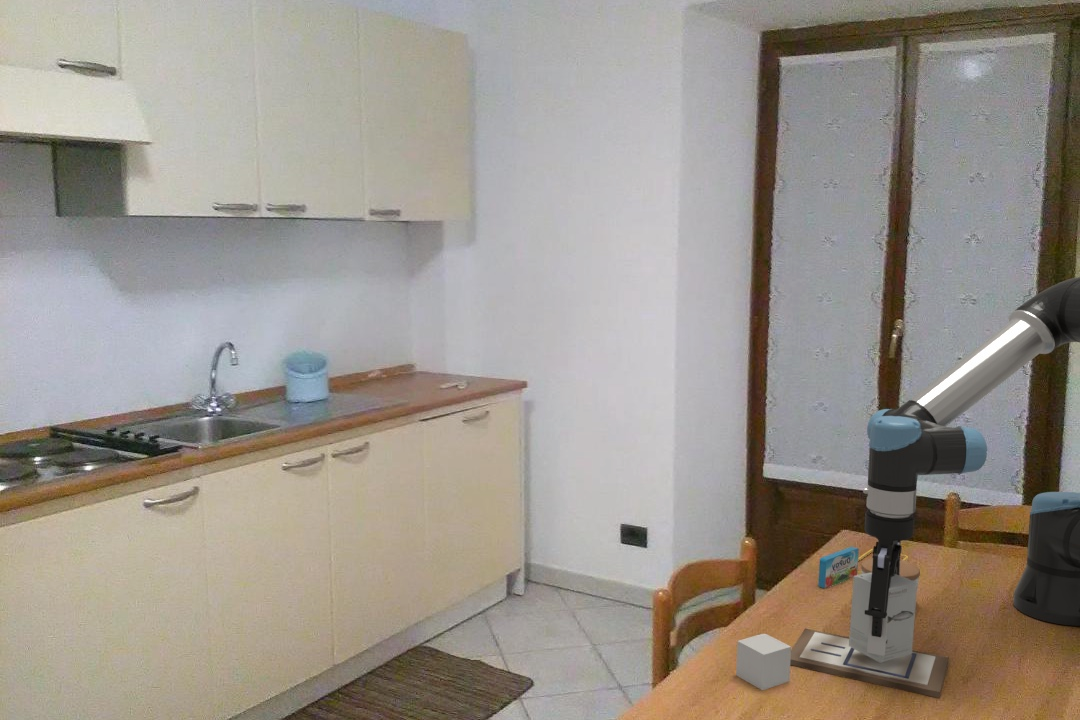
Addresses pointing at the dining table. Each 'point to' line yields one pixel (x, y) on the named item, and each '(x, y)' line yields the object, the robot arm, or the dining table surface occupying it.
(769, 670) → the gray cube
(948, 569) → the dining table surface
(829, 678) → the dining table surface
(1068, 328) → the robot arm
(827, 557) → the yogurt
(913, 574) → the lidded jar
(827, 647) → the brown framed board
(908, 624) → the supplement box
